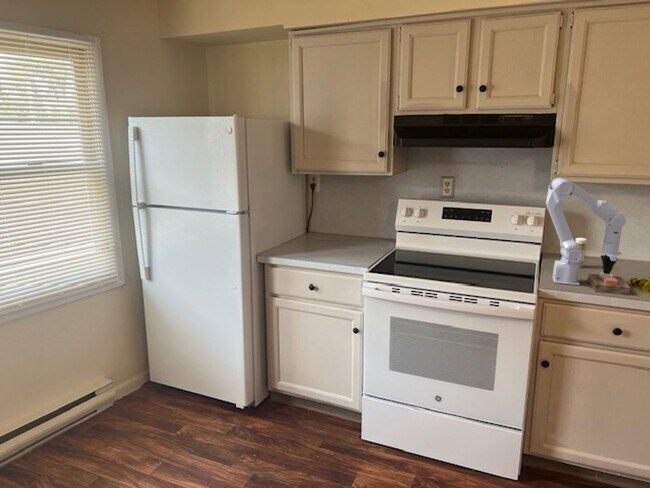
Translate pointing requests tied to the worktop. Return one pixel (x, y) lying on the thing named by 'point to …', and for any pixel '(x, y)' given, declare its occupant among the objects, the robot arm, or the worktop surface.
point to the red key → (610, 281)
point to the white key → (605, 275)
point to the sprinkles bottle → (581, 248)
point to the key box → (608, 285)
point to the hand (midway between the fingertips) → (606, 273)
